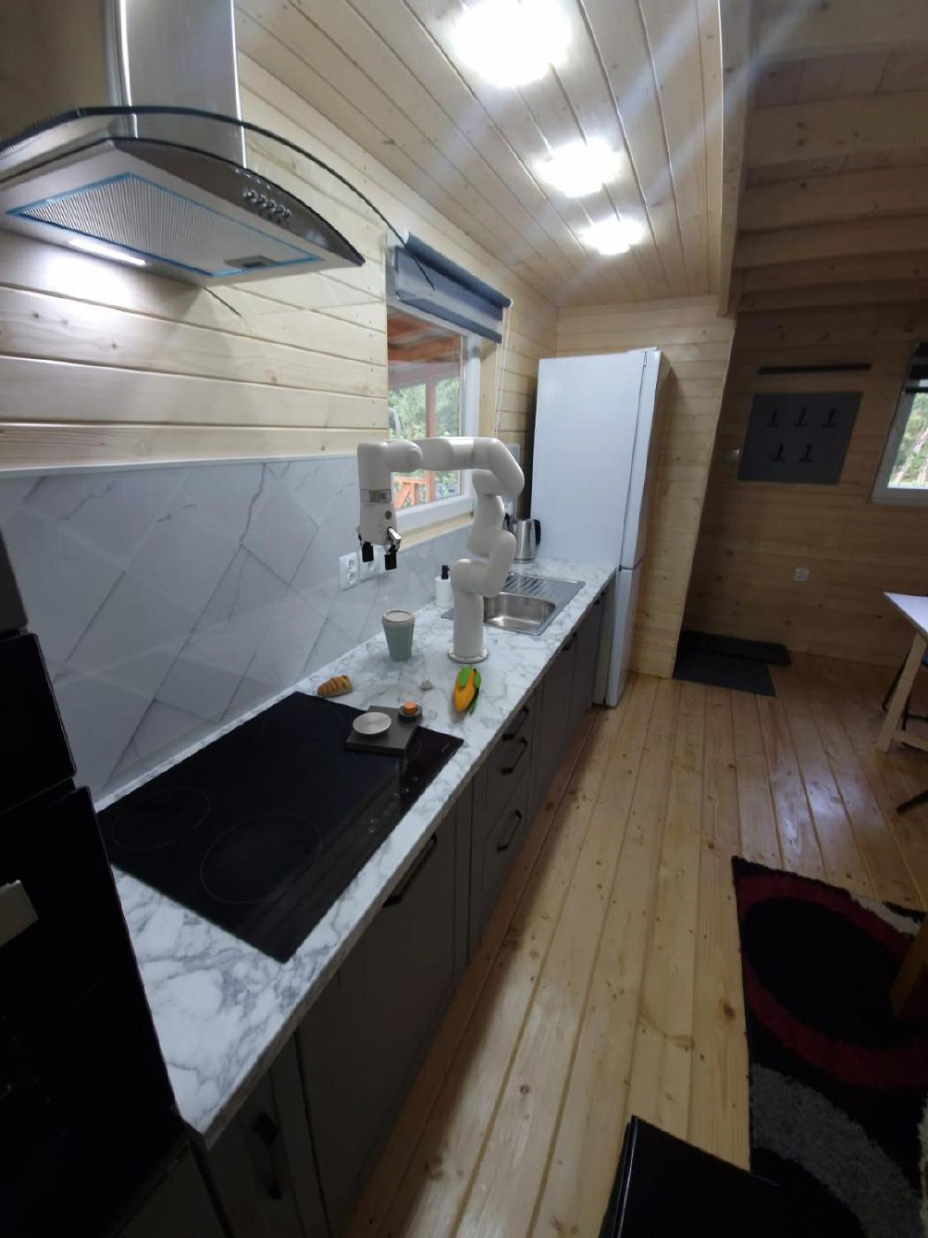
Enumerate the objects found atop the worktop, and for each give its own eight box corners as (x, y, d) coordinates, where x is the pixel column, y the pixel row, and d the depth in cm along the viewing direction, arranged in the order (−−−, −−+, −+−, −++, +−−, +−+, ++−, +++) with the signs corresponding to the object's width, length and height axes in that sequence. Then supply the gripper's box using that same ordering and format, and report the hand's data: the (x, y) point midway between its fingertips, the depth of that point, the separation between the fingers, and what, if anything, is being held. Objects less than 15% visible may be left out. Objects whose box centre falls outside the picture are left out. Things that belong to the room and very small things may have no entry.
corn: (482, 659, 140) (474, 695, 122) (483, 683, 143) (476, 722, 125) (456, 659, 141) (445, 695, 123) (458, 682, 144) (447, 721, 126)
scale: (371, 710, 130) (370, 698, 128) (424, 716, 127) (424, 704, 126) (346, 748, 115) (345, 736, 113) (406, 756, 112) (405, 743, 111)
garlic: (433, 684, 143) (433, 676, 142) (429, 691, 139) (429, 683, 138) (422, 683, 143) (422, 675, 142) (418, 690, 140) (418, 681, 139)
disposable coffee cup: (421, 651, 162) (420, 609, 157) (410, 666, 153) (408, 621, 147) (391, 648, 165) (389, 605, 159) (378, 662, 155) (375, 618, 149)
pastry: (323, 702, 133) (322, 689, 132) (313, 692, 138) (311, 679, 137) (355, 691, 139) (354, 678, 137) (344, 681, 144) (343, 670, 142)
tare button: (406, 707, 125) (405, 701, 125) (417, 708, 125) (417, 702, 124) (402, 713, 123) (402, 707, 122) (414, 715, 122) (414, 708, 122)
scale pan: (361, 712, 122) (361, 710, 122) (396, 716, 121) (396, 714, 121) (346, 733, 114) (346, 731, 114) (384, 738, 113) (383, 735, 112)
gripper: (410, 498, 115) (412, 569, 122) (368, 491, 127) (371, 556, 133) (384, 501, 110) (387, 575, 117) (342, 493, 122) (347, 561, 128)
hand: (379, 565), depth 125 cm, fingers open, 9 cm apart
